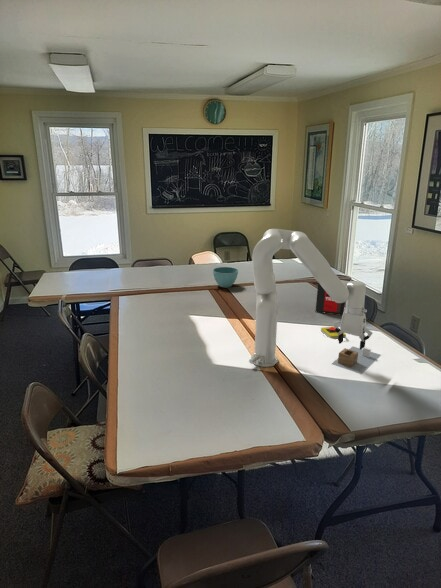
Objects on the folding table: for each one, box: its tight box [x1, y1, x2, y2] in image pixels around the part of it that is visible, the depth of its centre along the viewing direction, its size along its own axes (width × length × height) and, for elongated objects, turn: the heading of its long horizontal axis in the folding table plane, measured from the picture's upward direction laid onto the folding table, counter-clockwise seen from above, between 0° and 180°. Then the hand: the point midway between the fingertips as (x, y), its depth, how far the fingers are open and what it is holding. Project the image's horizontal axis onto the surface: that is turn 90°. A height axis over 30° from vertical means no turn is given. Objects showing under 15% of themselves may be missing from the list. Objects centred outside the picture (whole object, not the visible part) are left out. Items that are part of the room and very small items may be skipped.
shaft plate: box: [331, 346, 382, 375], centre depth 187 cm, size 24×14×6 cm, turn 140°
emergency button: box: [320, 326, 347, 340], centre depth 215 cm, size 9×4×15 cm
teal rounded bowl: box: [212, 266, 239, 289], centre depth 296 cm, size 18×18×12 cm
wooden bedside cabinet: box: [337, 348, 358, 367], centre depth 184 cm, size 6×6×5 cm
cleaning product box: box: [315, 278, 349, 316], centre depth 248 cm, size 16×9×20 cm, turn 71°
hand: (351, 345), depth 182 cm, fingers open, 9 cm apart
